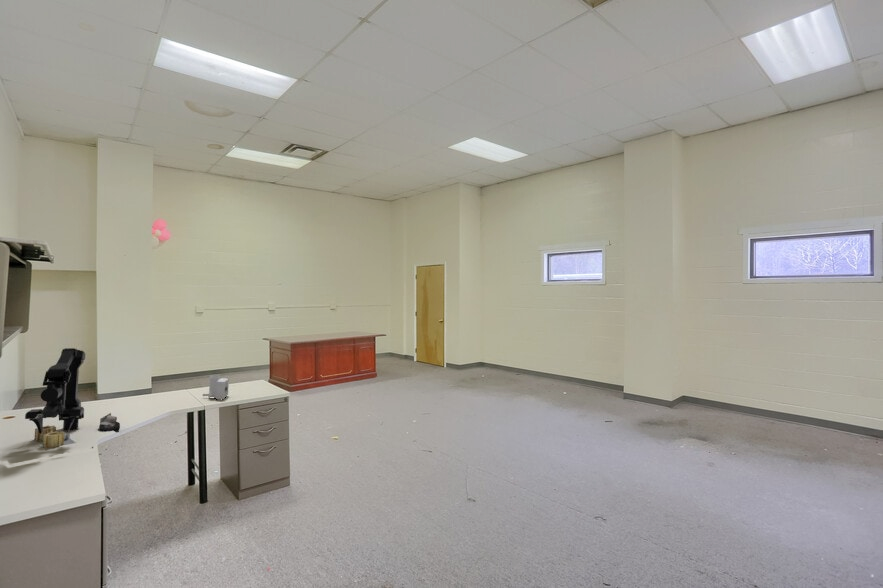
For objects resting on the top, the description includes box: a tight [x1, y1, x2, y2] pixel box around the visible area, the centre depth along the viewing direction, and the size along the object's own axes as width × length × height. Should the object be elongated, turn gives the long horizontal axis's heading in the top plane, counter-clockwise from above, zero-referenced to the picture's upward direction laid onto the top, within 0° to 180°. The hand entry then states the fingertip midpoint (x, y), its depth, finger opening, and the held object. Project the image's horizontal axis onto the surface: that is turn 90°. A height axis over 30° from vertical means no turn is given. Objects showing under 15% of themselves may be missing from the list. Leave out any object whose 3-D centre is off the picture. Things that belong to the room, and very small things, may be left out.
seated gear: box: [34, 425, 57, 442], centre depth 198 cm, size 7×7×5 cm
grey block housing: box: [202, 374, 230, 400], centre depth 294 cm, size 12×14×15 cm
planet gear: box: [42, 430, 66, 449], centre depth 191 cm, size 7×7×5 cm
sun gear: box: [64, 431, 71, 441], centre depth 198 cm, size 6×6×2 cm
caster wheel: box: [98, 412, 121, 433], centre depth 218 cm, size 7×11×10 cm
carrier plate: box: [37, 437, 77, 449], centre depth 196 cm, size 18×10×5 cm, turn 55°
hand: (54, 432), depth 191 cm, fingers open, 9 cm apart
